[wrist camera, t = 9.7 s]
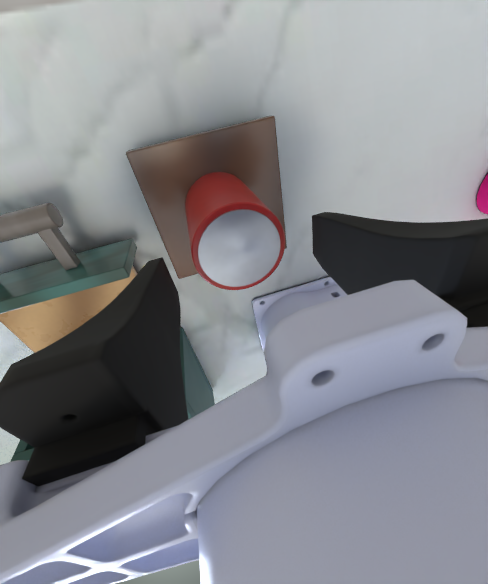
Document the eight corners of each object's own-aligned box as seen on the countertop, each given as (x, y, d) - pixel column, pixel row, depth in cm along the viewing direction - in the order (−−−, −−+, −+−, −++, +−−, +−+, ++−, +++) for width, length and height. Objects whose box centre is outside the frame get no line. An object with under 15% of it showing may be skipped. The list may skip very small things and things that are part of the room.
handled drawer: (104, 181, 16) (86, 201, 13) (184, 341, 26) (186, 377, 22) (-102, 233, 15) (-181, 269, 12) (59, 379, 25) (41, 423, 22)
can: (245, 163, 16) (281, 190, 11) (256, 229, 19) (289, 277, 14) (175, 181, 16) (176, 219, 11) (196, 246, 19) (207, 301, 13)
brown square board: (262, 114, 17) (274, 115, 15) (277, 236, 23) (287, 248, 21) (130, 147, 16) (124, 152, 14) (178, 264, 22) (178, 279, 20)
